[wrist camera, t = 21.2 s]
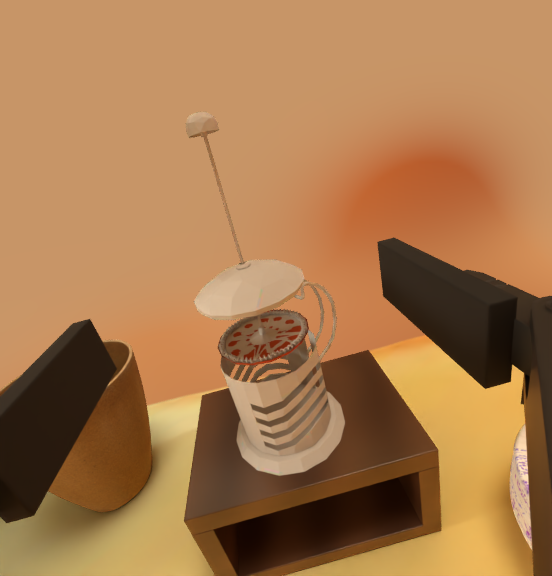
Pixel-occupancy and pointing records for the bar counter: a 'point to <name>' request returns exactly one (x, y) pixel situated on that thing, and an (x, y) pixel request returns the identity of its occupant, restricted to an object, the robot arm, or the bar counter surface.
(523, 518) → the paper bowls
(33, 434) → the robot arm
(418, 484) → the shelf
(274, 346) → the french press
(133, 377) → the plant pot
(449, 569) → the bar counter surface
